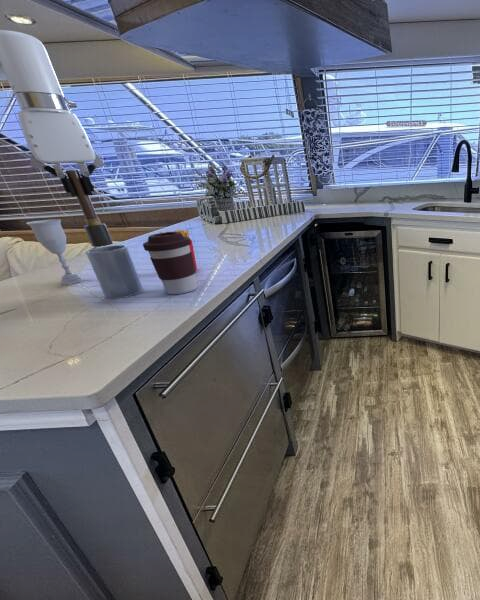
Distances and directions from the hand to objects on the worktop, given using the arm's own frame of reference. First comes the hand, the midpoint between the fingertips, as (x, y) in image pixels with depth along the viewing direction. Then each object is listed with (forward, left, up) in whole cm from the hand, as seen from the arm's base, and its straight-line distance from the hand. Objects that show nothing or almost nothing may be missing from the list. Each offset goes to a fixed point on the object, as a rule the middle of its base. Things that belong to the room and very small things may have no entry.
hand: (81, 194), depth 76 cm
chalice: (-9, +26, -25) cm, 37 cm away
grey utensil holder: (0, 0, -25) cm, 25 cm away
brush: (0, 0, -12) cm, 12 cm away
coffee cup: (+11, -11, -25) cm, 30 cm away
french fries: (+16, +8, -25) cm, 31 cm away
